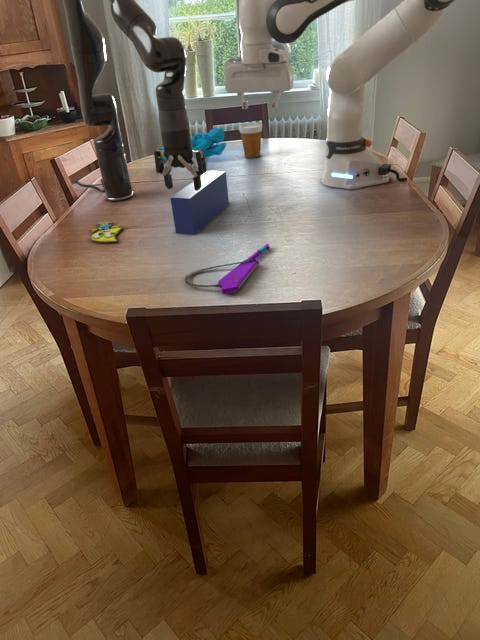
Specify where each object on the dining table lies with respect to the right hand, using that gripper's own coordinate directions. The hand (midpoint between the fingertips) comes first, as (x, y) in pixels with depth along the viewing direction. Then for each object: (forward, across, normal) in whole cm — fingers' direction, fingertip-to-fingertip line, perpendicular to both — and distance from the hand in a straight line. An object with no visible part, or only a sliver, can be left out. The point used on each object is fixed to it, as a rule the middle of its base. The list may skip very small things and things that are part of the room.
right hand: (259, 108), depth 143 cm
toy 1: (+27, -37, -38) cm, 59 cm away
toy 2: (+27, -46, +40) cm, 67 cm away
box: (+27, -13, -20) cm, 36 cm away
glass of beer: (+27, -22, +48) cm, 60 cm away
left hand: (+15, -13, -30) cm, 36 cm away
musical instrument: (+27, +8, -52) cm, 59 cm away
